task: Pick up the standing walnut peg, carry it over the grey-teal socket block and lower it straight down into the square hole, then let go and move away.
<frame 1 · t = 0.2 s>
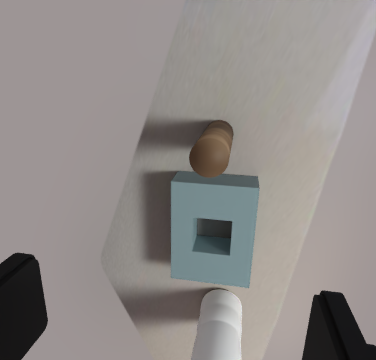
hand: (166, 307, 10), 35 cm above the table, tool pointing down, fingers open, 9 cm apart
peg: (219, 134, 43), on the table
socket block: (214, 221, 48), on the table
water bottle: (221, 303, 53), on the table
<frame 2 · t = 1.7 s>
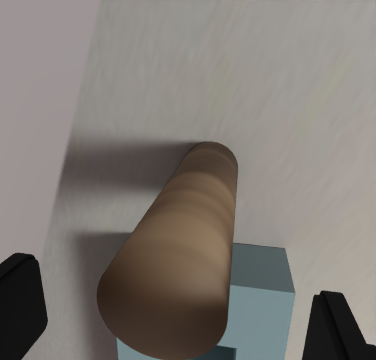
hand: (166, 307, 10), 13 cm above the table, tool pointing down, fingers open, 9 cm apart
peg: (210, 168, 22), on the table
socket block: (203, 318, 27), on the table
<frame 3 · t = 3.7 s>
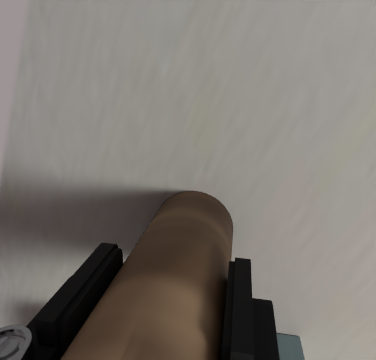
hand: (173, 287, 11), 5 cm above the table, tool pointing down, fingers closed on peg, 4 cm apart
peg: (193, 227, 15), on the table, touching gripper
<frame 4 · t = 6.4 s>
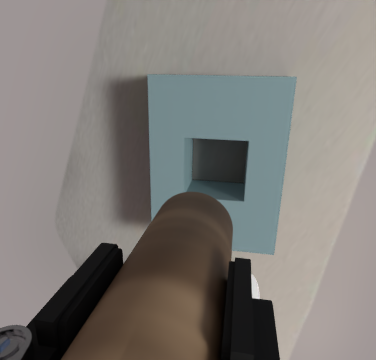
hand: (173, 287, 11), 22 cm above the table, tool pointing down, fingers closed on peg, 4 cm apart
peg: (193, 228, 15), point 17 cm above the table, touching gripper
socket block: (219, 156, 31), on the table
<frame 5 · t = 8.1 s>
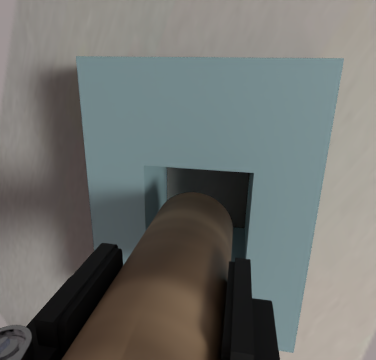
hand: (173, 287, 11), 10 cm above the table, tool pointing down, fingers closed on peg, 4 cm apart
peg: (193, 228, 15), point 6 cm above the table, touching gripper
socket block: (206, 187, 21), on the table
when the fingers open (6 cm above the table, at t = 9.6 s): peg drops 1 cm, resting in socket block.
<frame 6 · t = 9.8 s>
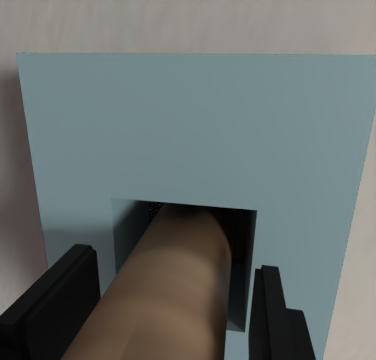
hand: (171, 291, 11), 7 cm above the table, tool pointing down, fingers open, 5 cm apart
peg: (198, 215, 17), resting in socket block
socket block: (197, 215, 17), on the table
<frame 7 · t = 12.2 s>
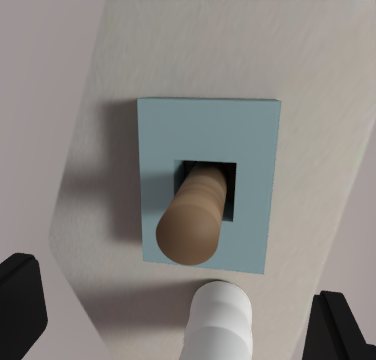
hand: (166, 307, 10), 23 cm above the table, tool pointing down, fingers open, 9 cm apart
peg: (209, 175, 32), resting in socket block
socket block: (209, 175, 32), on the table
water bottle: (221, 302, 37), on the table
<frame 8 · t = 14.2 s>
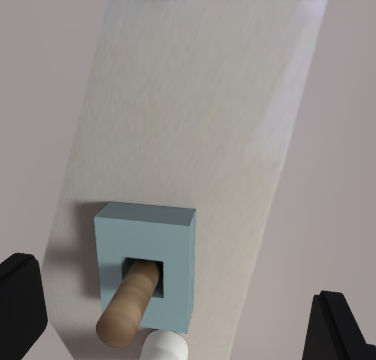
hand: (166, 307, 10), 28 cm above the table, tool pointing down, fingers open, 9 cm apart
peg: (153, 256, 43), resting in socket block
socket block: (153, 256, 43), on the table
water bottle: (167, 343, 48), on the table
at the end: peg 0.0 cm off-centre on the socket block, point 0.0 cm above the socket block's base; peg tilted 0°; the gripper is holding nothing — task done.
